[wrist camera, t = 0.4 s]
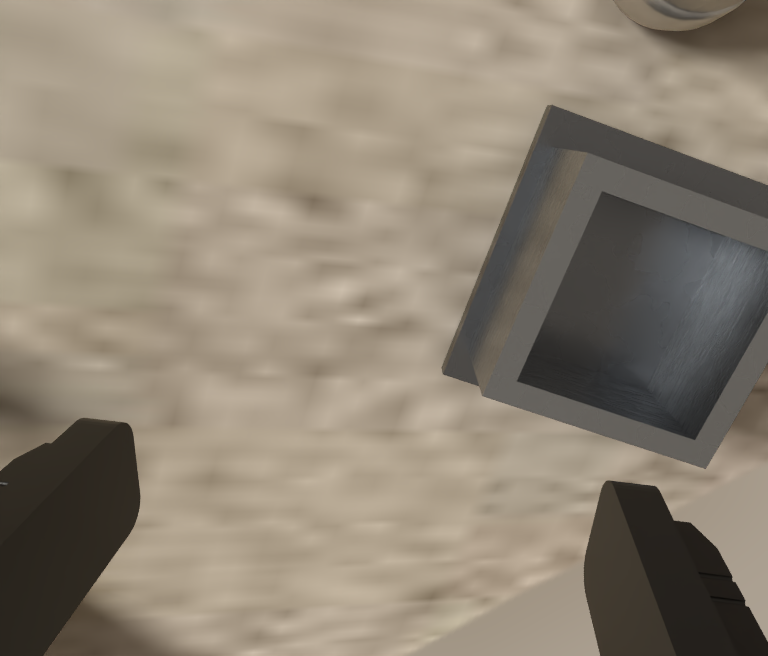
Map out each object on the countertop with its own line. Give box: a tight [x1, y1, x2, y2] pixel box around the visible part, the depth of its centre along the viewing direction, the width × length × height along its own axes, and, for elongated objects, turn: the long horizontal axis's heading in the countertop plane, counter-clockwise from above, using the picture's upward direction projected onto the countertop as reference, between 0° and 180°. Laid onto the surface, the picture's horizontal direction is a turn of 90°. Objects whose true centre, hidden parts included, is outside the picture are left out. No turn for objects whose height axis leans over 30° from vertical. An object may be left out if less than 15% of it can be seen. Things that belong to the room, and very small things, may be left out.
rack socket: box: [442, 105, 768, 469], centre depth 30 cm, size 15×13×7 cm
